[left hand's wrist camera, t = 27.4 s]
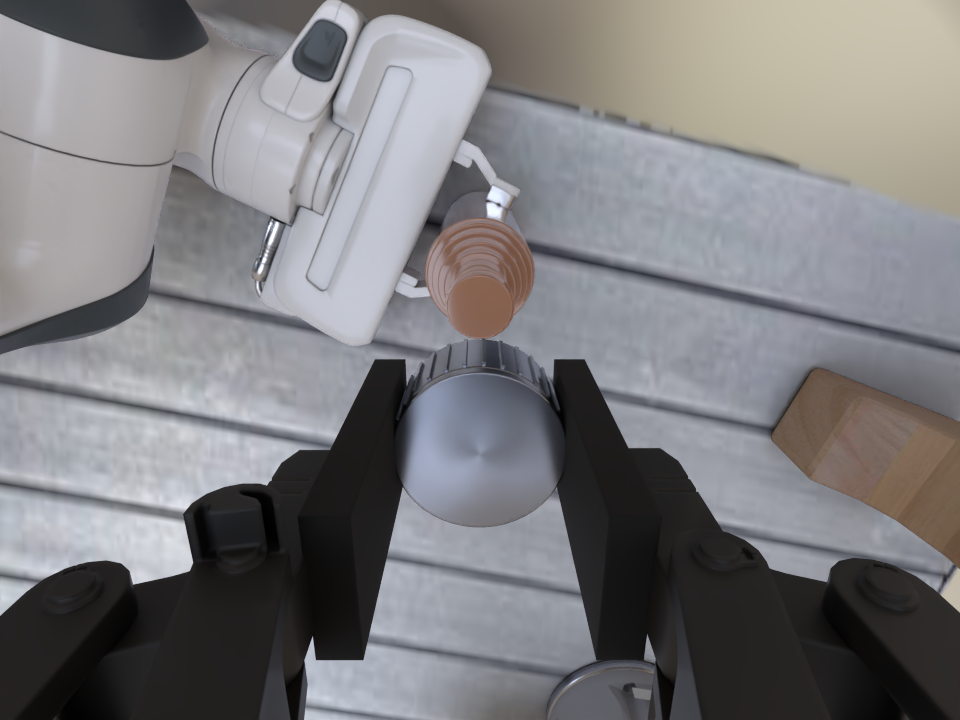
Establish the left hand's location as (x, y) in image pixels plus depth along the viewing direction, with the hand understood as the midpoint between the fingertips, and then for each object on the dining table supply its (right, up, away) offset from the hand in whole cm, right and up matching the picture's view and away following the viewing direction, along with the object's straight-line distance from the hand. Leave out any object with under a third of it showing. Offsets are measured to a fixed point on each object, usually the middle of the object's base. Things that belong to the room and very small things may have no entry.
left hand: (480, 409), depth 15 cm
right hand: (+1, +9, +23) cm, 25 cm away
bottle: (0, +11, +30) cm, 32 cm away
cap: (0, -1, -2) cm, 2 cm away
